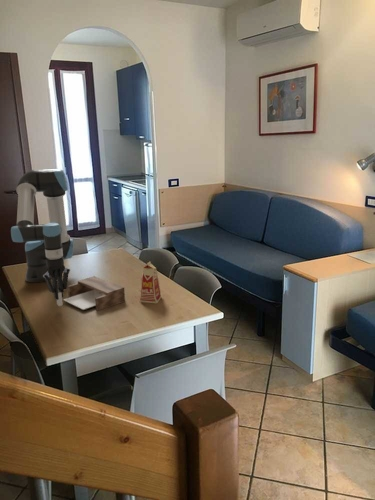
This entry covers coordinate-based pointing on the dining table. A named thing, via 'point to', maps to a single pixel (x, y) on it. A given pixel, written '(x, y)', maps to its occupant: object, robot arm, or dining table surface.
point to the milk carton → (150, 285)
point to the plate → (84, 299)
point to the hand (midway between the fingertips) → (59, 304)
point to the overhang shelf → (111, 290)
